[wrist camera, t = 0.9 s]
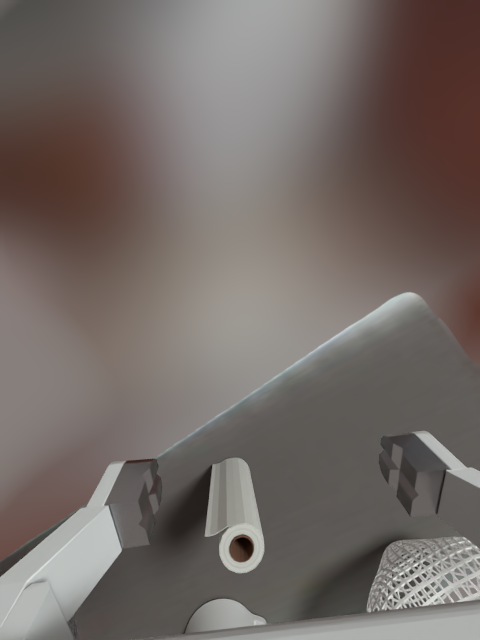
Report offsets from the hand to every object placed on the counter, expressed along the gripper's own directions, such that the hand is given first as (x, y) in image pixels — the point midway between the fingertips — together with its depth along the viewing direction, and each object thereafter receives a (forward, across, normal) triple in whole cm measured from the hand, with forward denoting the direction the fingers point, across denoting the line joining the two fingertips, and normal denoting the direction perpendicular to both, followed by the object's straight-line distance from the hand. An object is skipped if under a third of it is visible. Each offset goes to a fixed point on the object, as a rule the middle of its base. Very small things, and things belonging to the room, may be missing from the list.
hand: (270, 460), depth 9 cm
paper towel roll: (+36, -4, -39) cm, 53 cm away
